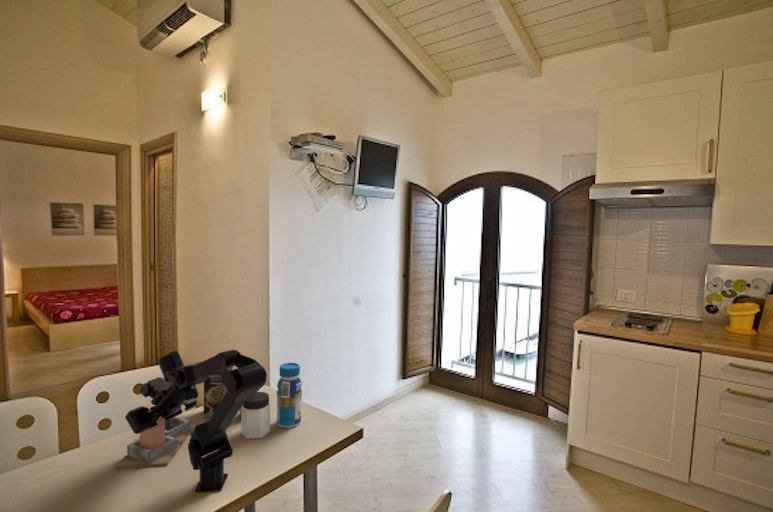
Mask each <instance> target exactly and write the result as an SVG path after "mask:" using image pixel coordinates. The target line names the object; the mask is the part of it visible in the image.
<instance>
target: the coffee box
mask: <svg viewBox="0 0 773 512" xmlns="http://www.w3.org/2000/svg"><path fill="white" fill-rule="evenodd" d="M227 369H228V370H229V371H231V370H234V366H232V367H229V368H227ZM226 392H227V390H226V387H225V385H224V384H223V383H222V382H221V380H220V371H218V372H216V373H213V374H211V375H210V377H209V378H208V379H207V380H206V381H205V382H203V416H202V417H203V418H207V417H208V418H209V417H210V418H211V417H212V415H213V414H214V412H215V410H216V409H217V407H218V405H219V404H220V402H221V400H222V399H223V397H224V395H225V394H226Z"/></svg>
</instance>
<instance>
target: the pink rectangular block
mask: <svg viewBox="0 0 773 512" xmlns="http://www.w3.org/2000/svg"><path fill="white" fill-rule="evenodd" d="M142 406H143V407H145V408H146V407H147V408H148V409H149V411H150V408H151V407H153V406H155V405H152V403H151V402H150V403H147V404H144V405H142ZM156 422H157V424H158V425H156V426H154V427H152V428H150V429H147V430H145V431H143V432H141V433H139V435H140V436H139V439H140V447H142V448H146V449H149V450H153V449H155V448H157V447H159V446H161V445H162V444H164V443H165V418H164V419H163V418H162V416H161V417H159V418H158V420H157V421H156Z"/></svg>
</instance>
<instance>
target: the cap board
mask: <svg viewBox="0 0 773 512" xmlns="http://www.w3.org/2000/svg"><path fill="white" fill-rule="evenodd" d="M197 425H198V422H191V420H188V419H184V418H182V417H181V418H180V417H178V416H175V417H173V418H170V419H168V420H165V443H164V444H162V445H161V446H159V447H157V448H155V449H153V450H149V449H146V448H142V447H140V438H139V439H137V440H135V441H133V442H131V443H129V444H127V445H126V447H127V448H126V449H127V451H126V453H127V454H126V455H125V456H124V457H123V459H122V460H121V461H120V462H119V463H118V464H117V465H116V466H115V467H116V469H130V468H149V467H150V468H151V467H165V466H166V467H167V466H168V465H169V464H170V463H171V461H172V460H173V458H174V457H175V456H176V454H177V453H178V452H179V450H180V449H181V447H182V446H183V445H182V444H184V443H185V442H186V441H187V439H188V438H189V436H190V435H189V434H191V433H193V431H194V427H196V426H197ZM192 430H193V431H192ZM187 437H188V438H187Z"/></svg>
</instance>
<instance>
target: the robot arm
mask: <svg viewBox="0 0 773 512" xmlns="http://www.w3.org/2000/svg"><path fill="white" fill-rule="evenodd" d="M157 363H158V366H159V369H160V371H161V374H162V376H163V377H155V378H153V379H150V380H148V381H147V382H145V383H144V384H143V385H141V387H140V390H139V392H140V395H142V396H143V397H144V398H148V397H150V398H151V399H152V400H151V401H150V403H152V405H155V406H153V407H151V408H150V411H149V409H148V408H147V407H146V408H145V407H143V406H144V405H141V406H139V407H136V408H133V409H131V410H129V411H128V412H127V413H126V415H125V417H124V418H125V420H126V422H127V423H128V425H129V427H130V428H131V430H132V432H133V433H134V434H136V435H140V433H141V432H143V431H145V430H147V429H150V428H152V427H154V426H156V425H158V424H157V422H156V421H157V420H158V418H159V417H161V416H162V418H163V419H164V418H165V420H168V419H170V418H173V417H178V416H179V415H181V414H183V409H181V408H182V406H184V407H185V408H184V411H185V412H187V411H189V410H191V409H194V408H195V407H196V405H197V403H198V401H197V398H198V397H199V393H198V388H197V386H196V385H200V384H204V382H205V381H206V380H207V379H208V378H209V377H210V375H211V374H213V373H216V372H218V371H220V380H221V382H222V383H223V384H224V385H225V387H226V390H227V392H226V394H225V395H224V397H223V399H222V400H221V402H220V404H219V405H218V407H217V409H216V410H215V412H214V414H213V415H212V416H210V418H209V420H206V421H204V422H201V423H199V424H197V425H196V426H195V428H194V429H193V431H192V432H191V433H190V435H189V436H190V438H189V442H188V443H187V444H188V445H187V449H188V455H189V461H190V464H191V466H192V470H193V471H195V470H196V471H199V481H198V482H197V484H196V486H195V489H194V493H205V492H221V491H222V490H223V488H224V486H225V484H226V481H227V479H228V477H229V474H228V473H225V472H224V469H225V461H224V460H226V459H228V458H230V457H232V456H233V452H234V449H233V447H232V445H231V443H230V440H229V438H228V437H229V435H228V434H227V430H228V428H229V426H230V424H231V423H232V422H233V420H234V419H235V417H236V416H237V414H238V413H239V410H240V408H241V407H242V405H243V403H244V402H245V400H246V399H247V398H248V397H250V396H251V395H253V394H254V393H256V392H260V390H261V388H263V387H264V386H265V384H266V382H267V380H268V379H267V369H265V368H264V367H263V365H261V364H260V363H259V362H258V361H257V360H256V359H254V358H252V357H250V356H247V355H243V354H242V353H241V352H239V350H237V349H229V350H225V351H221V352H217V354H215V355H213V356H211V357H209V358H207V359H205V360H203V361H197V362H193V363H190V364H186V365H185V363H184V361H183V359H182V356H181V354H180V353H179V352H178V350H174V351H170V352H169V353H168V354H166V355H164V356H162V357H161V358H160V359H157ZM232 366H233V367H235V368H233V370H231V371H229V370H228V369H227V368H229V367H232ZM169 381H170V382H171V383H172V384H170V383H169Z"/></svg>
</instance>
